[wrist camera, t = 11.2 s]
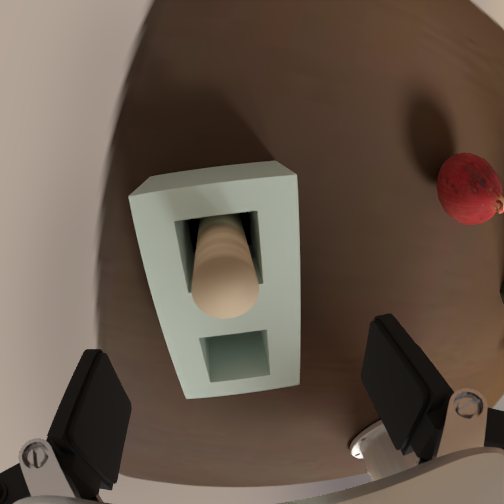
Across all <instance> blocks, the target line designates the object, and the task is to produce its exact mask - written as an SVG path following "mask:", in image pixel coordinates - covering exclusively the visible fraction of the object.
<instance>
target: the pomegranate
mask: <svg viewBox="0 0 504 504" xmlns="http://www.w3.org/2000/svg"><path fill="white" fill-rule="evenodd" d="M437 192H438V197H439V200H440V203H441V204H442V206H443V208H444V210H445V212H446V213H447V214H449V215H450V216H451V217H452V218H454V219H455V220H456V221H458V222H459V223H462V224H465V225H473V224H481V223H483V222H485V221H487V220H488V219H490V218H491V217H492V216H494V214H495V213H496V212H498V213H499V214H500V213H503V212H504V197H503V195H502V187H501V183H500V179H499V177H498V175H497V173H496V172H495V170H494V169H493V168H492V166H491V165H490V164H489V163H488V162H487V161H486V160H485V159H483V158H481V157H479V156H476V155H473V154H471V153H461V154H456V155H453V156H451V157H449V158H448V159H447V160H446V161H445V162H444V163H443V164H442V166H441V168H440V171H439V173H438V177H437Z"/></svg>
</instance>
